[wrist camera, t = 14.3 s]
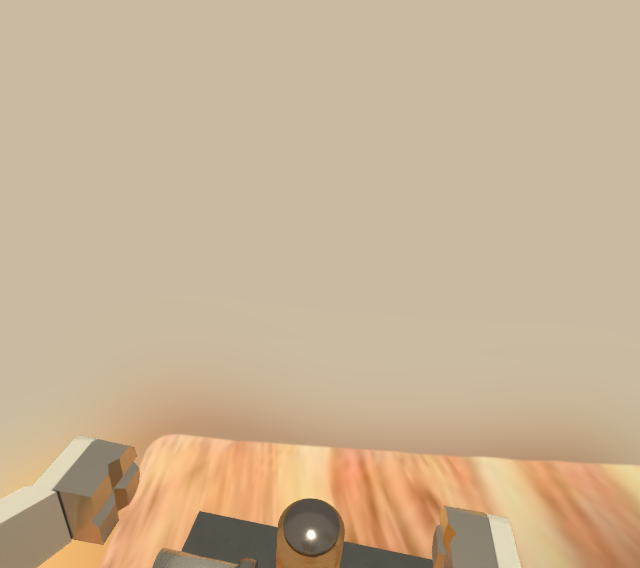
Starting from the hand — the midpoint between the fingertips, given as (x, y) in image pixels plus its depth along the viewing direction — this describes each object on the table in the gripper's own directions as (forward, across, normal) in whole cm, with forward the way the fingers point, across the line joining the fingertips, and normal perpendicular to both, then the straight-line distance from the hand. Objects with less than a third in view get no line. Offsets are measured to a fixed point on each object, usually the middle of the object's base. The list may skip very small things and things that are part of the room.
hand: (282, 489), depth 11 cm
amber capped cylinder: (+12, 0, +31) cm, 33 cm away
